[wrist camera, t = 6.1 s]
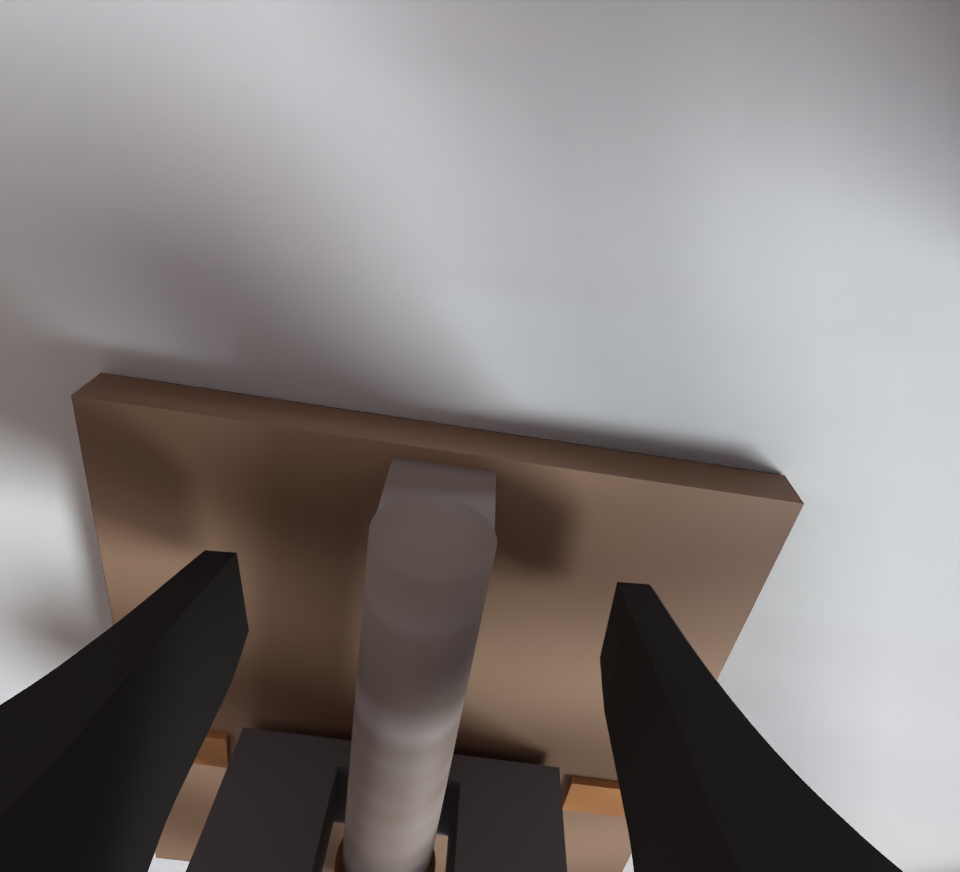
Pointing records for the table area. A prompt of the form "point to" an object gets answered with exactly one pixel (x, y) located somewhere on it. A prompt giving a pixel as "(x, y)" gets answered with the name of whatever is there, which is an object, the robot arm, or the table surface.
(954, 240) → the table surface
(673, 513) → the rod stand
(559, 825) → the collar
